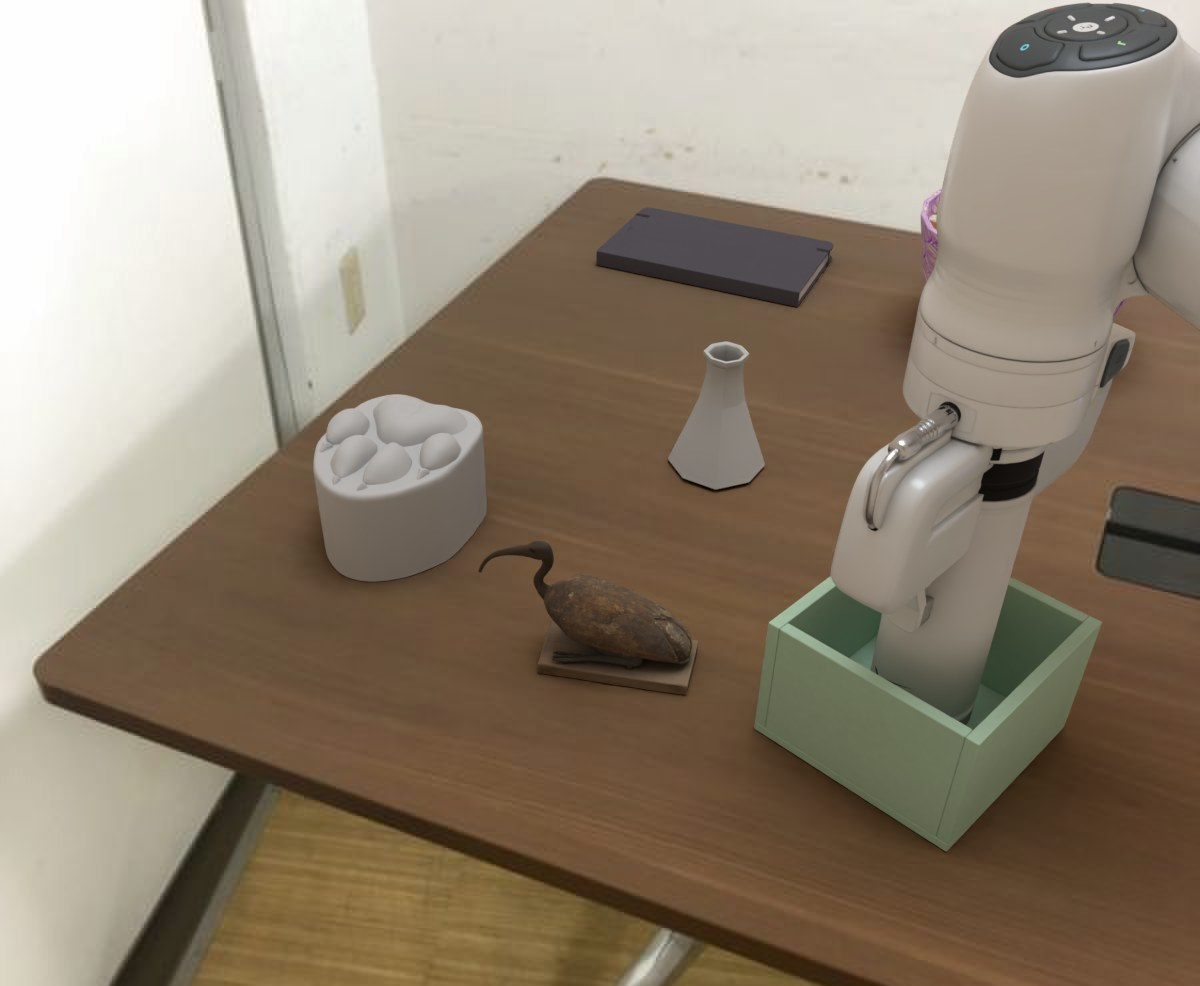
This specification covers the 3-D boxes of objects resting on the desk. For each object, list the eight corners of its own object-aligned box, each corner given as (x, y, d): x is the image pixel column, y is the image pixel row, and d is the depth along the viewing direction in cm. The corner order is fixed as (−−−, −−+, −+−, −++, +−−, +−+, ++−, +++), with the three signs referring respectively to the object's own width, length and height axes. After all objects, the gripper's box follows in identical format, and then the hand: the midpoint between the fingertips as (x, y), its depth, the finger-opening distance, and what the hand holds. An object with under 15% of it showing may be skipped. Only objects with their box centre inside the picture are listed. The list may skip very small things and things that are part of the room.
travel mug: (857, 731, 73) (918, 435, 60) (872, 660, 78) (932, 374, 65) (966, 755, 71) (1051, 458, 59) (974, 682, 76) (1055, 393, 64)
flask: (651, 460, 99) (657, 347, 92) (716, 430, 102) (727, 319, 96) (715, 502, 94) (725, 386, 88) (780, 469, 98) (795, 355, 92)
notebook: (595, 265, 126) (797, 307, 120) (596, 250, 125) (799, 292, 119) (643, 219, 135) (834, 256, 129) (644, 205, 134) (836, 242, 127)
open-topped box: (1064, 727, 77) (1102, 621, 71) (946, 852, 69) (979, 745, 63) (878, 625, 84) (900, 522, 78) (753, 728, 76) (768, 622, 71)
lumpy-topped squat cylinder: (503, 499, 94) (499, 399, 89) (417, 598, 85) (407, 494, 79) (385, 466, 97) (374, 368, 92) (289, 559, 88) (270, 456, 83)
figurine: (473, 664, 80) (466, 557, 75) (491, 619, 84) (485, 514, 78) (688, 695, 78) (697, 589, 73) (697, 649, 82) (707, 543, 76)
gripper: (940, 483, 53) (887, 712, 62) (1152, 325, 65) (1081, 538, 73) (820, 427, 56) (786, 652, 65) (1042, 286, 68) (987, 494, 77)
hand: (944, 590), depth 69 cm, fingers closed on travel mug, 6 cm apart
